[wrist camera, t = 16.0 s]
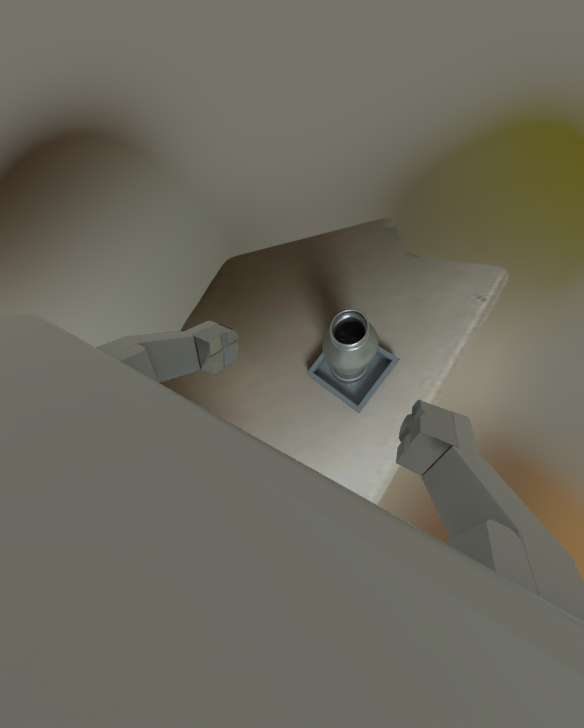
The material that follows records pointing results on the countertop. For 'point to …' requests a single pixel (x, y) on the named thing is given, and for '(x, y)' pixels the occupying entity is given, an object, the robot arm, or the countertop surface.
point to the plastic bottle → (350, 346)
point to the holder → (361, 390)
